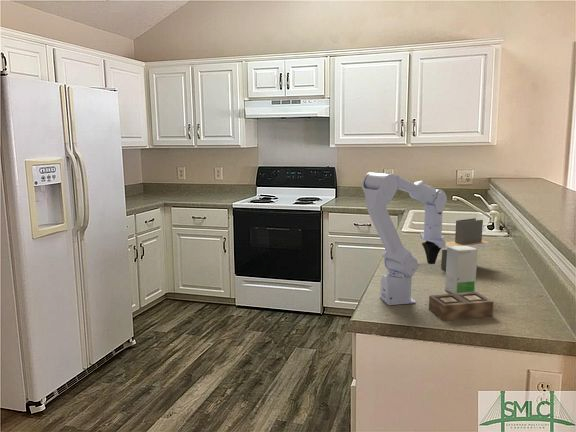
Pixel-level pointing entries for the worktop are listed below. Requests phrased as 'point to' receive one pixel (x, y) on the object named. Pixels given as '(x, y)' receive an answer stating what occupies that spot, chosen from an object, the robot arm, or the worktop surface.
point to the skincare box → (461, 269)
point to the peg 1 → (448, 299)
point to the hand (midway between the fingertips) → (431, 263)
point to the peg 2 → (472, 297)
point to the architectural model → (465, 237)
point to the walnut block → (460, 306)
